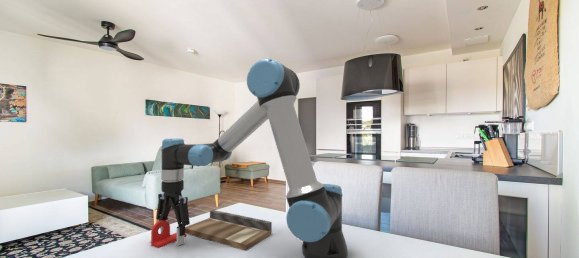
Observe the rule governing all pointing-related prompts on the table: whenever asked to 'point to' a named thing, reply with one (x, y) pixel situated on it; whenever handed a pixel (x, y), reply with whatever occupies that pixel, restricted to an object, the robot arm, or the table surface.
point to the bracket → (162, 235)
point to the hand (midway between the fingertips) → (172, 241)
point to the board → (231, 229)
